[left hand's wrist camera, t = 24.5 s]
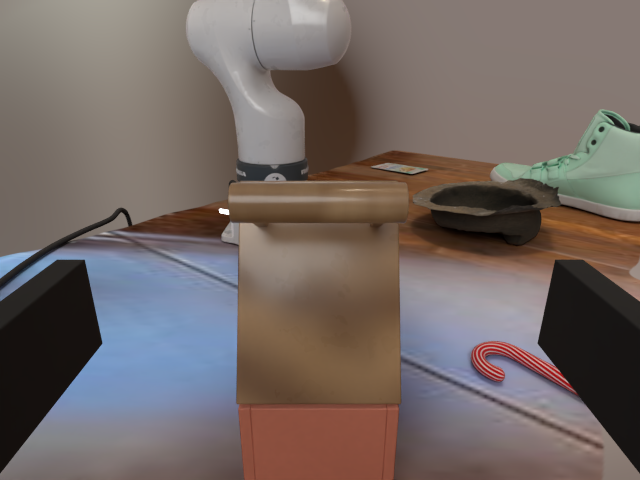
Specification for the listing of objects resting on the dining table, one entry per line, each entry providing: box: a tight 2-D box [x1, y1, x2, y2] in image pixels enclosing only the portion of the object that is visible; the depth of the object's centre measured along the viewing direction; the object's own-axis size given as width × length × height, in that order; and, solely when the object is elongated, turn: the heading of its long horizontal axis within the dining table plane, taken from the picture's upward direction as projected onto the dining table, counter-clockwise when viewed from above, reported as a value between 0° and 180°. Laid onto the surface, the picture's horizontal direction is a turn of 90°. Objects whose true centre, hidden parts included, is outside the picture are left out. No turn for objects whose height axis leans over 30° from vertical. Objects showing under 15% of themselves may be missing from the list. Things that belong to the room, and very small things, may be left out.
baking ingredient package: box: [373, 163, 428, 174], centre depth 132 cm, size 9×1×15 cm
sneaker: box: [490, 110, 640, 222], centre depth 96 cm, size 14×35×20 cm, turn 42°
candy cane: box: [471, 341, 579, 396], centre depth 41 cm, size 6×15×2 cm, turn 36°
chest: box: [238, 404, 399, 480], centre depth 34 cm, size 13×10×9 cm
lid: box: [228, 181, 409, 404], centre depth 23 cm, size 13×10×9 cm
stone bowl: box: [413, 178, 561, 245], centre depth 81 cm, size 25×25×9 cm
